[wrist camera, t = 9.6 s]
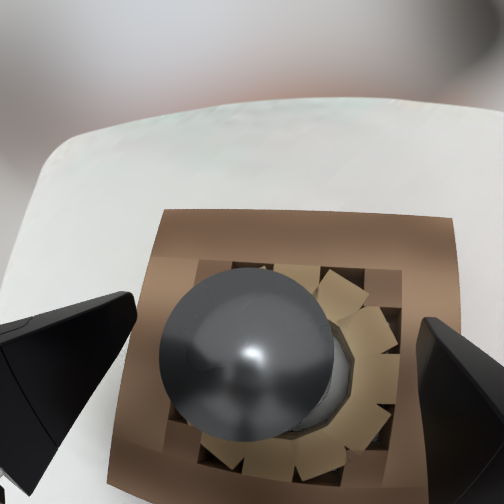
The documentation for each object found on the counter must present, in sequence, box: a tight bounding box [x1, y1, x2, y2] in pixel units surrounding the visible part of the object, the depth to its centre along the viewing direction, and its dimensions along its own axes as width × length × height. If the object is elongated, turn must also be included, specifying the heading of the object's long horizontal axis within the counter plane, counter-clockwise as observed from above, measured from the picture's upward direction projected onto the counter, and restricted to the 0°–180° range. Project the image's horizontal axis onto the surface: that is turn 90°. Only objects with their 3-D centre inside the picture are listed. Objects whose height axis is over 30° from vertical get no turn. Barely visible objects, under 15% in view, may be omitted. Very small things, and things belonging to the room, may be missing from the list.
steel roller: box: [159, 267, 334, 442], centre depth 12 cm, size 4×4×10 cm
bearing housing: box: [107, 209, 461, 504], centre depth 15 cm, size 16×16×3 cm
